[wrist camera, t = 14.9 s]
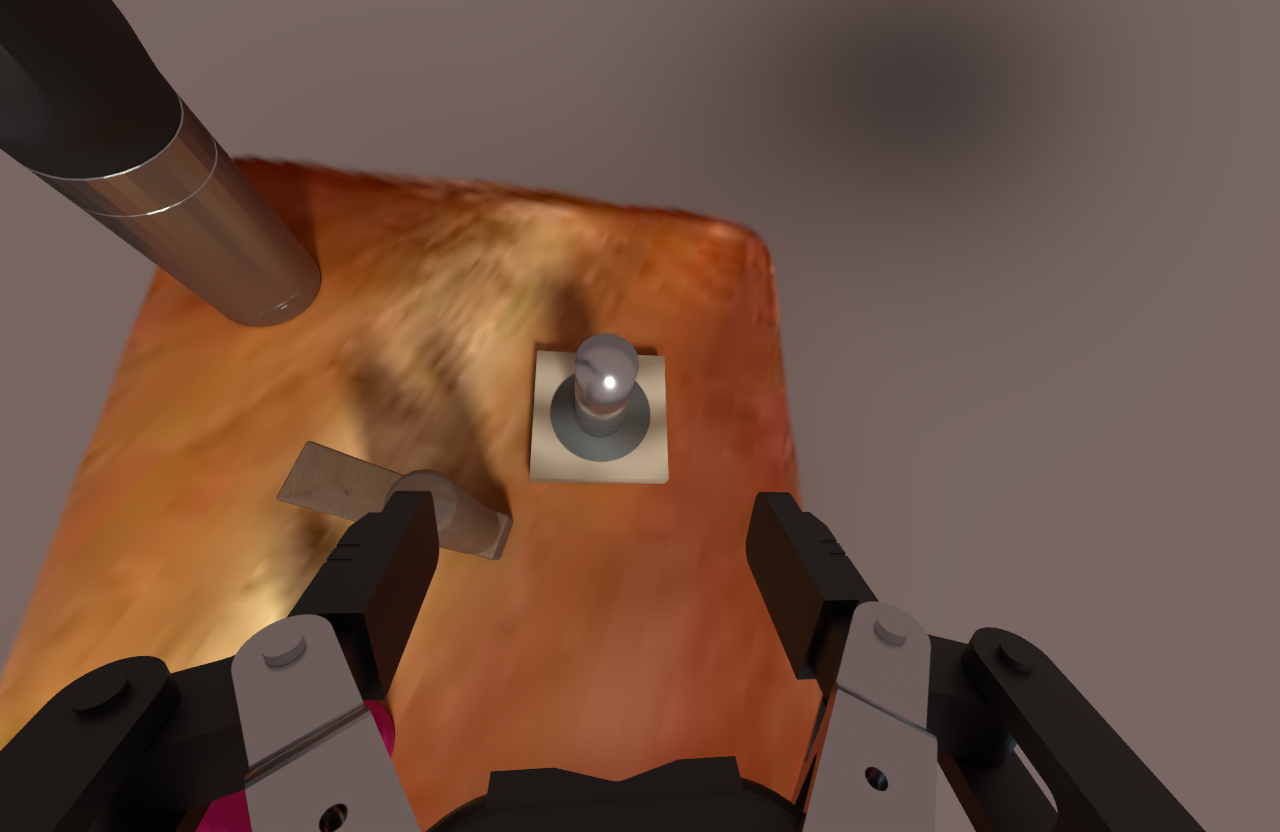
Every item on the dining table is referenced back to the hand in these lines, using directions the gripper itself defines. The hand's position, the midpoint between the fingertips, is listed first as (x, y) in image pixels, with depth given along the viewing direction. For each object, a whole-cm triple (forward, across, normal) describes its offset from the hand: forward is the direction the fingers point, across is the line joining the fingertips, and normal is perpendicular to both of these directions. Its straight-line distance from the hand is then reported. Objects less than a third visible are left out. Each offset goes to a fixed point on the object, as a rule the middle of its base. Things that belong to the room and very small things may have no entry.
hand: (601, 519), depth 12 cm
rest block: (+31, +1, -13) cm, 33 cm away
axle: (+29, +1, -11) cm, 31 cm away
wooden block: (+24, -12, -20) cm, 33 cm away
